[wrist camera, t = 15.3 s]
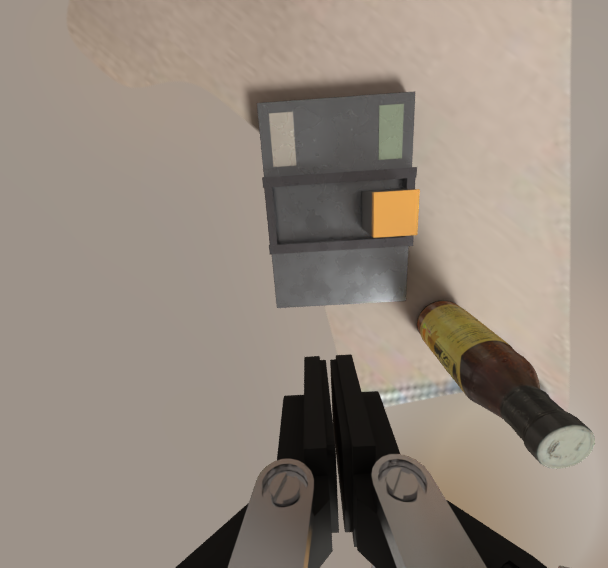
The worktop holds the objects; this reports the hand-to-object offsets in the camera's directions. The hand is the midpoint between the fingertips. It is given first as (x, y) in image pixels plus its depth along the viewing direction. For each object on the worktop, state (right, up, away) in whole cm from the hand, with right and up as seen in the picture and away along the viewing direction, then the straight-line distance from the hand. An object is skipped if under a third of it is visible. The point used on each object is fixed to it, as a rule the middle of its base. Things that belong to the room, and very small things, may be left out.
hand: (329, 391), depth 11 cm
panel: (+3, +12, +24) cm, 28 cm away
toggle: (+7, +12, +22) cm, 26 cm away
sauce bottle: (+17, -1, +29) cm, 34 cm away
